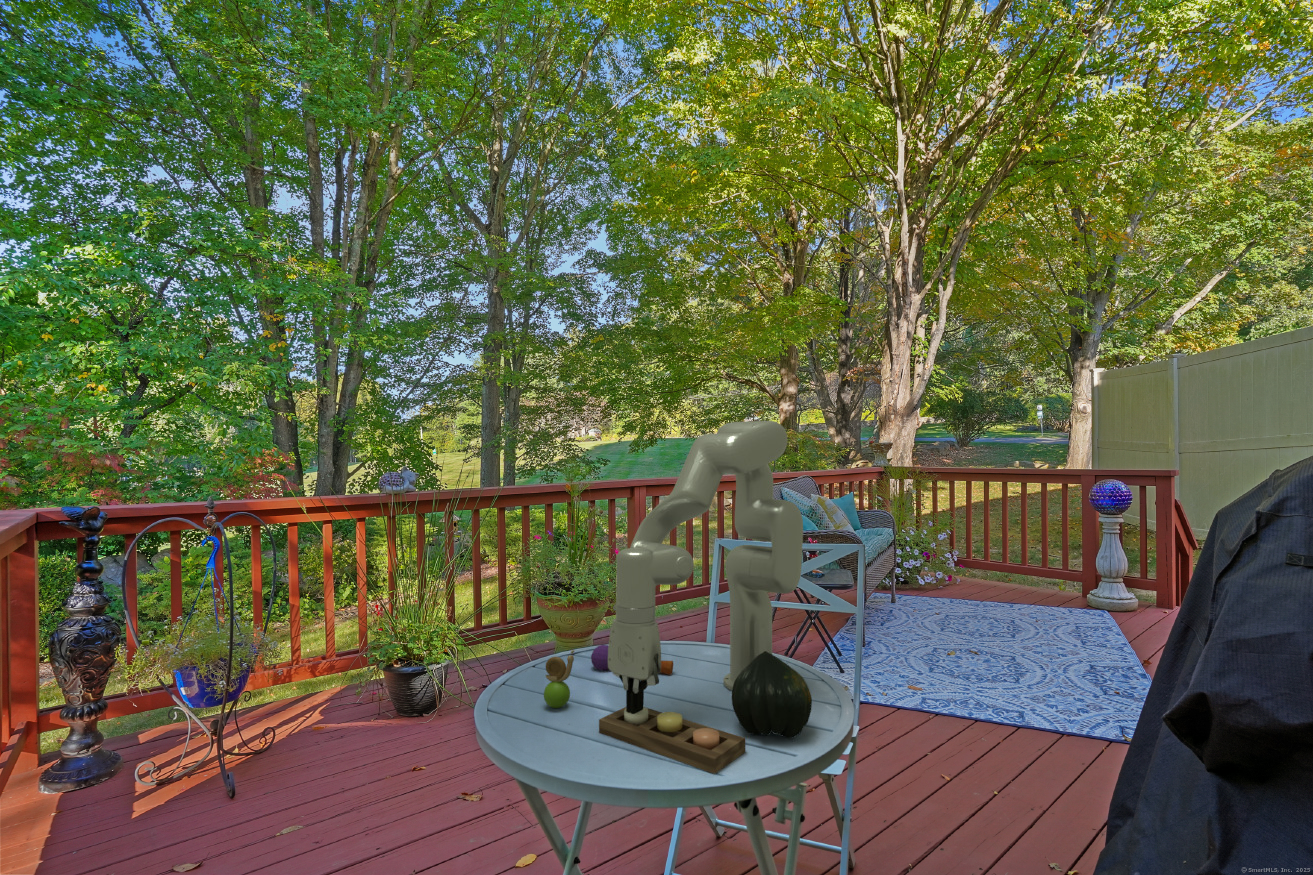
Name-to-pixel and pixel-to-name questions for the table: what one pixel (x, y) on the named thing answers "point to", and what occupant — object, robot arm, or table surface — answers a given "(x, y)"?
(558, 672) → the snail figurine
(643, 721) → the cream button
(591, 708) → the table surface
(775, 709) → the squash
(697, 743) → the terracotta button
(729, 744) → the button panel
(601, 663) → the purple and brown maraca
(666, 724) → the mustard button
